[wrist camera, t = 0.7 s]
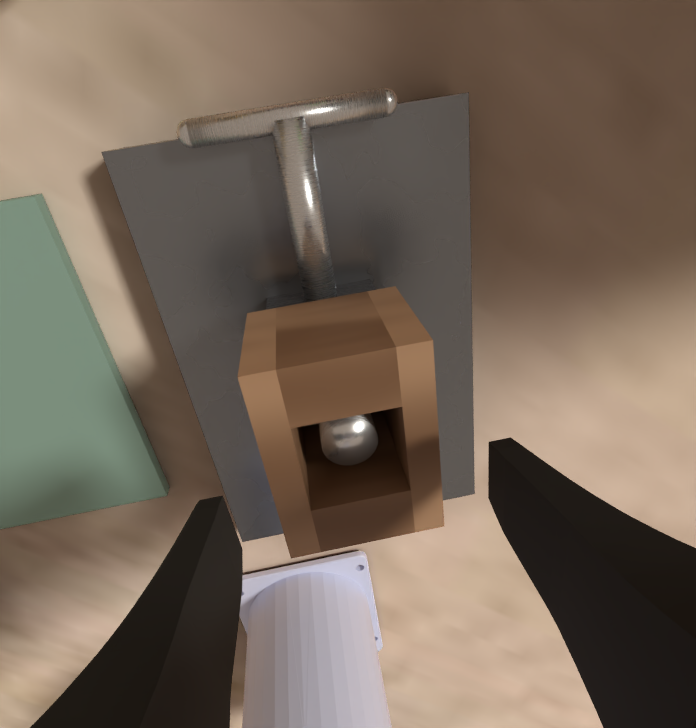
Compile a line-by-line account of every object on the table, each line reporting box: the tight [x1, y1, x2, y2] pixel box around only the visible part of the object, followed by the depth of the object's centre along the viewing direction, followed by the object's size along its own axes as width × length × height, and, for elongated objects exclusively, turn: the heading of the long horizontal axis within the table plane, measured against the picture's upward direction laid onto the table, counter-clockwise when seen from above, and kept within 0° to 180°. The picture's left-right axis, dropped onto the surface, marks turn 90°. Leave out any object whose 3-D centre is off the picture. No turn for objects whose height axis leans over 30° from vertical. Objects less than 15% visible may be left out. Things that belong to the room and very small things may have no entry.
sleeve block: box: [238, 286, 444, 558], centre depth 16 cm, size 7×5×4 cm
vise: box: [102, 88, 475, 542], centre depth 18 cm, size 18×12×7 cm, turn 8°
